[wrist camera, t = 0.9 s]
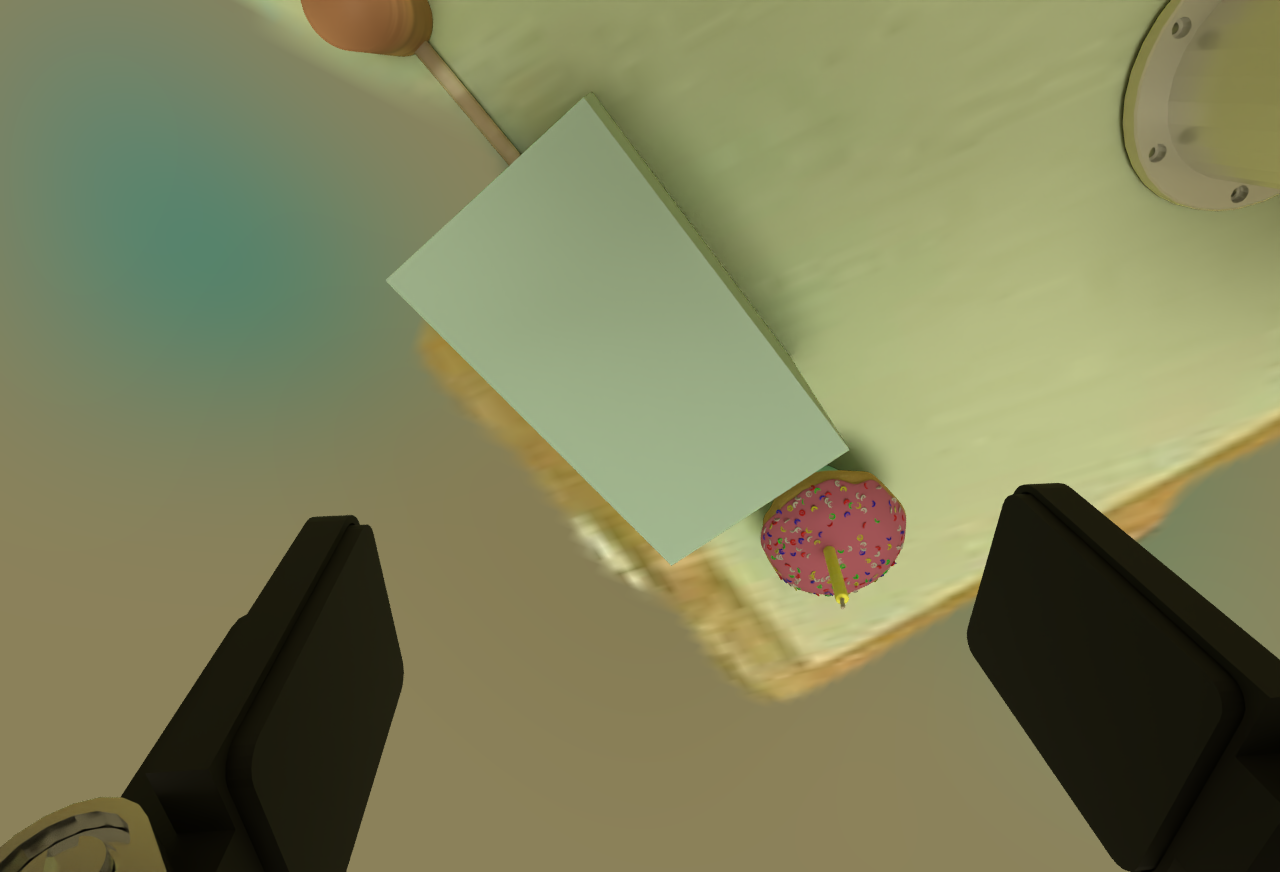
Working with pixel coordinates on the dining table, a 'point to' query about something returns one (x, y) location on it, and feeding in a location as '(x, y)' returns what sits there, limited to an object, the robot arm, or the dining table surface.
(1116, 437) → the dining table surface
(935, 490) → the dining table surface
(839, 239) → the dining table surface
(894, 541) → the cupcake
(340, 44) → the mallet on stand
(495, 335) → the plain rectangular box
